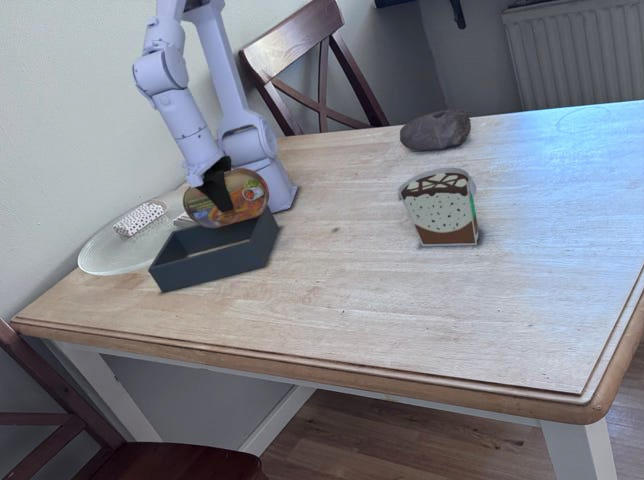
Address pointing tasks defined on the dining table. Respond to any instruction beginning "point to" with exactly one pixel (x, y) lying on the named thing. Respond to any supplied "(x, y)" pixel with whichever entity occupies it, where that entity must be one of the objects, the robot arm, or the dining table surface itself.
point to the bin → (213, 252)
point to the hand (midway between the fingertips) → (229, 206)
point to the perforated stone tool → (436, 130)
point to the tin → (245, 196)
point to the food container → (442, 207)
